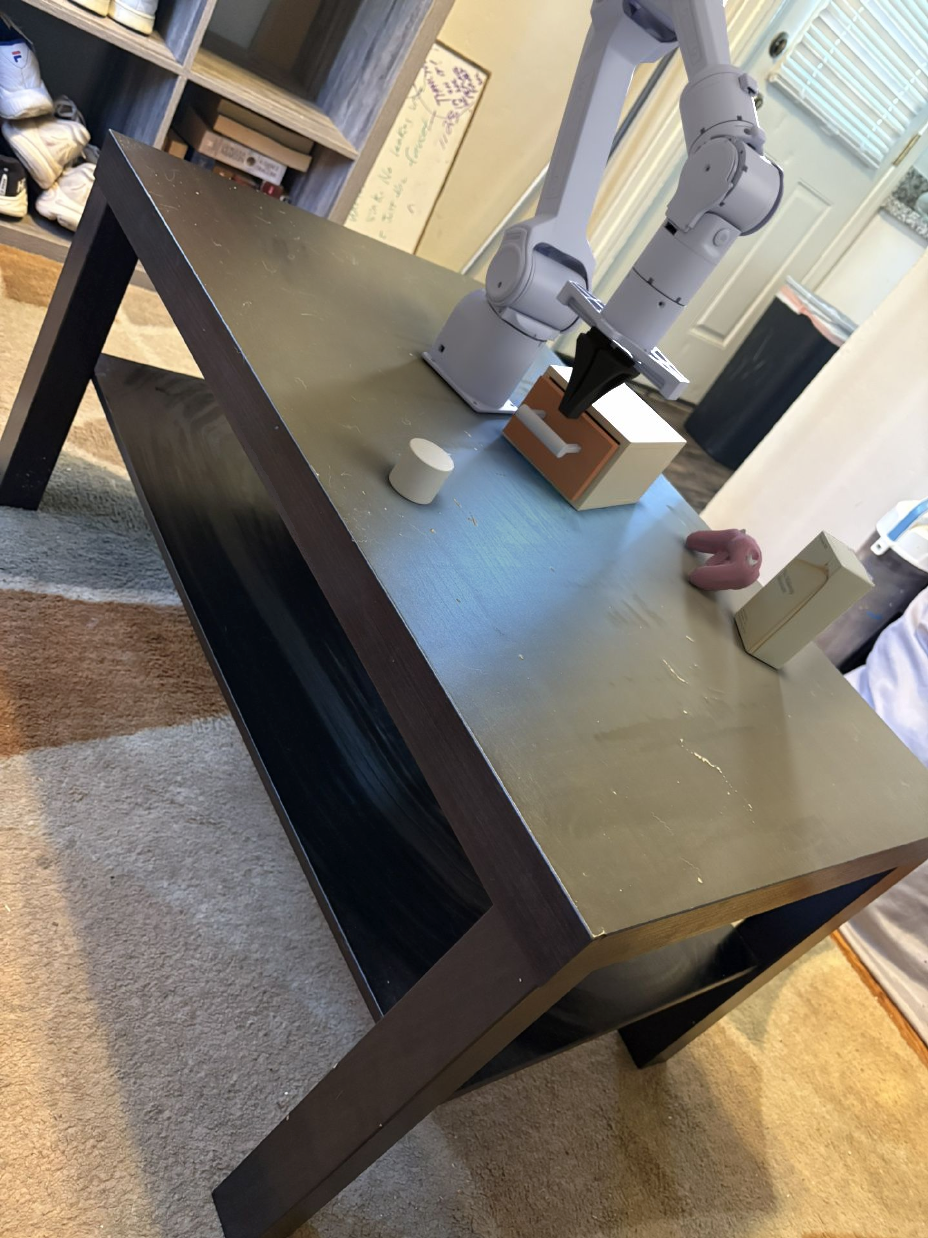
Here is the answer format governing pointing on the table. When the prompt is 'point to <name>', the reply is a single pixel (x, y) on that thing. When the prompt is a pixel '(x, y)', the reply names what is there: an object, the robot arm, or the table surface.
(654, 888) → the table surface
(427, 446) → the cylinder
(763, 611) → the cosmetic box
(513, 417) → the pod drawer
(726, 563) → the pink curved piece
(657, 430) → the mini drawer cabinet
